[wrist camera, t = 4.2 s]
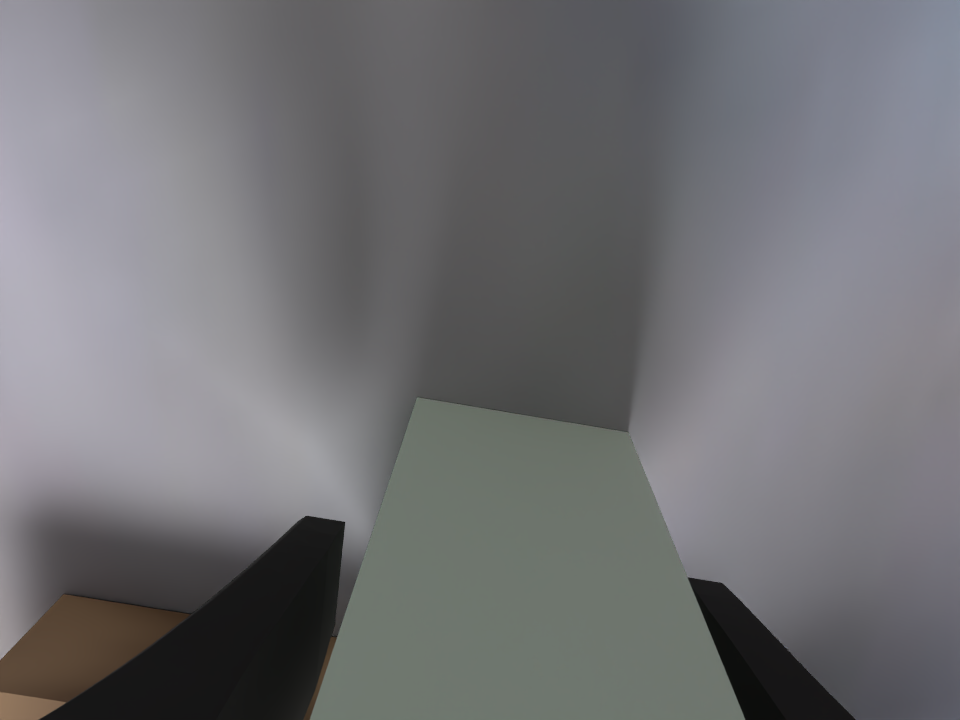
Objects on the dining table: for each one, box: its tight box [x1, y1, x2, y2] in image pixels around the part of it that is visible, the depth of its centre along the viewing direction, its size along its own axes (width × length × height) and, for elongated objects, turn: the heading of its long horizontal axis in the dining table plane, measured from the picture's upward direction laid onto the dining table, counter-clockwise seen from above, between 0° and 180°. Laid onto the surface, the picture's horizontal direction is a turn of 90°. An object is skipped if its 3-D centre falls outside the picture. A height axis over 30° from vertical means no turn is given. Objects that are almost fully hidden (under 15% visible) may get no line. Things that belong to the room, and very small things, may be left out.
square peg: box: [310, 397, 745, 720], centre depth 8 cm, size 4×4×8 cm
